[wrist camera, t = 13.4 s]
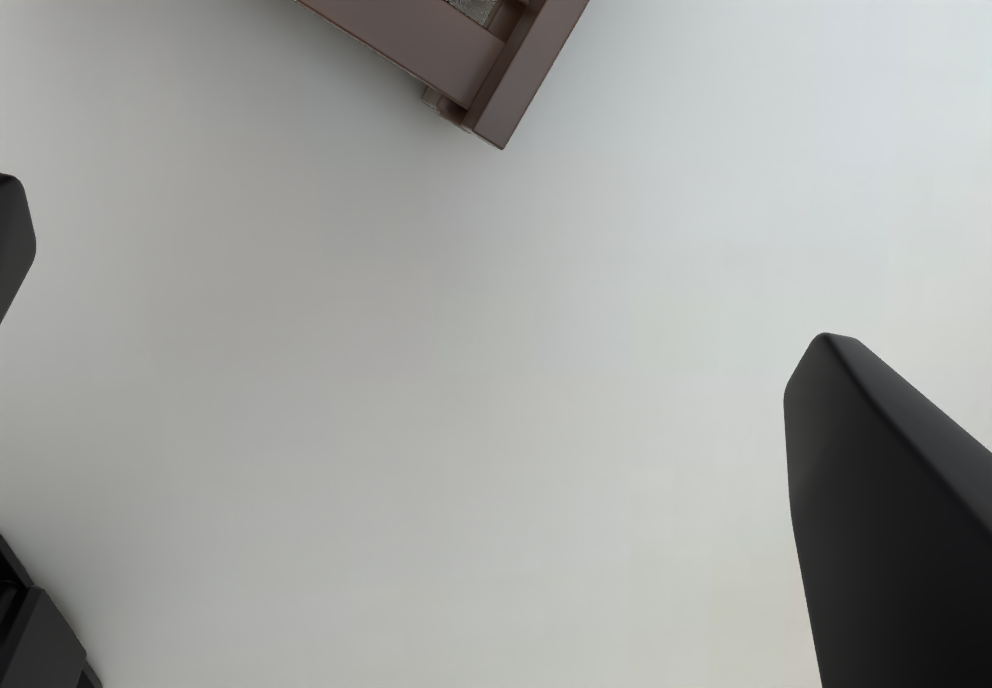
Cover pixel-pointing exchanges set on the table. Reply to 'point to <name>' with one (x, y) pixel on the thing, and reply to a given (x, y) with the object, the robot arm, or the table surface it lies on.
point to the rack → (463, 52)
